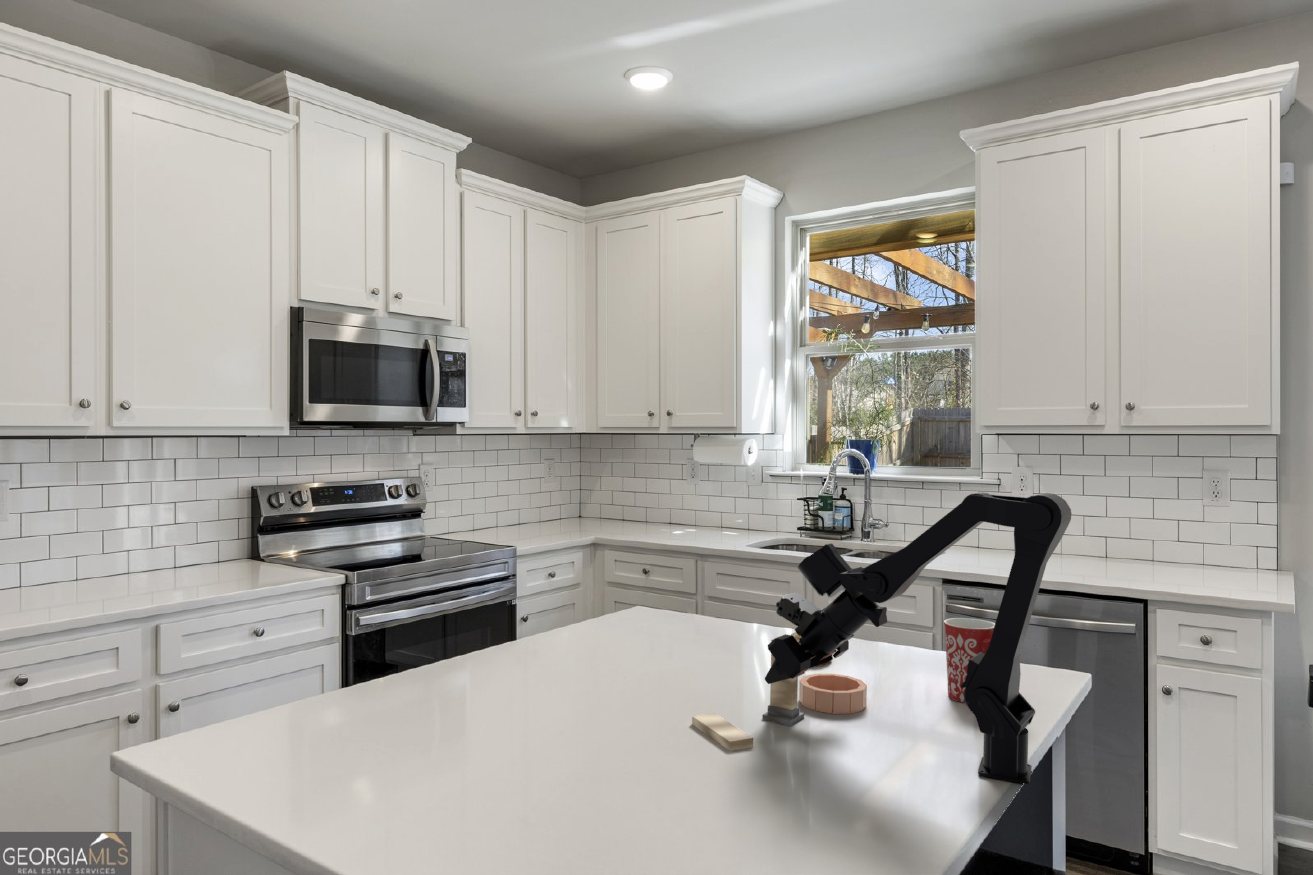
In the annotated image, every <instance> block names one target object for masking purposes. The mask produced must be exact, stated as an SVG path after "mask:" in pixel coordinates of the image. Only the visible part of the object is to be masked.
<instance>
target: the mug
mask: <svg viewBox="0 0 1313 875" xmlns="http://www.w3.org/2000/svg"><path fill="white" fill-rule="evenodd" d="M995 623H996V622H993V621H990V620H989V621H988V620H986V619H985V620H983V619H977V618H970V617H969V618H968V617H965V618H964V617H953V618H951V617H950V618H947V619H945V620H943V624H944V631H945V634H944V635H945V637H944V638H945V654H946V656H945V658H946V673H947V674H946V675H947V676H946V678H947V695H948V697H949V698H950V699H952V700H954V701H956V702H959V703H965V700H964V691H965V689H966V688H961V685H962V684H963V682H964V681H965V679H966V676H967V667H968V662H969V660H970V659H972V658H973V657H975V656H976V655H977V654H979V653H980V652H982V653H984V654H985V653H986V652H987V650H988V647H989V644H990V640H991V637H992V633H993V630H994V626H995ZM965 704H966V703H965Z"/></svg>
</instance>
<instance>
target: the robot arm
mask: <svg viewBox="0 0 1313 875" xmlns="http://www.w3.org/2000/svg"><path fill="white" fill-rule="evenodd" d="M1071 520H1072V508H1070V505H1069V503H1068V502H1067V501H1066V500H1065V499H1064V498H1063V497H1061V496H1060V495H1058V494H1055V493H1052V492H1051V493H1049V492H1045V493H1041V494H1040V493H1039V494H1036V495H1030V496H1028V497H1024V496H1023V497H1021V496H1011V495H1010V496H1009V495H997V494H989V493H988V492H983V491H982V492H976V493H970V494H969V495H966V496H965V497H964V499H963V500H962V502H960V503H959V504H958V505H957V506H955V507H953V509H952V510H950V511H949V512H948V513H947V514H945V515H944V516H943V517H941V518H940V519H939V520H938V521H937V522H935V523H934V524H933V525H931V526H930V527H928V528H927V529H926V530H925V531H924V532H922V533H921V534H920V535H918V536H917V537H916V538H915V539H913V540H912V541H911V542H910V543H908V544H907V545H906V546H905V547H903V548H902V549H899V550H898V551H894V552H893V553H891V554H888V555H886V556H885V557H883V558H880V559H879V560H877V561H875V562H873V563H871V564H869V565H867V566H866V567H862V566H859V567H856V568H852V567H851V566H850V565H849V563H847V561H846V560H845V559H844V557H843V556H841V554H840V553H839V551H838V549H837V547H836V546H835V545H834V544H833V543H832V542H831V543H826V544H824V545H823V546H822V547H821V548H819V549H818V550H816V551H815V552H813V553H811V554H810V555H809V556H808V555H807V556H806V557H805V558H804V559H803V560H802V561H801V562H800V563H799V564H798V566H797V570H798V571H799V572H800V573H801V574H802V575H803V577H804V578H805V579H806V580H807V582H808V583H809V584H810V586H811V587H812V588H813V589H814V591H815V592H816V594H818V595H819V597H824V596H825V595H826V596H827V597H828V599H830V598H833V597H835V596H836V595H837V594H838V593H839V595H838V596H837V597H836V598H835V599H833V600H832V601H831V602H830V603H829V604H828V605H827V606H826V607H824V608H823V609H820V608H819V607H818V606H817V605H816V604H814V603H813V602H812V601H810V600H809V599H807V598H806V597H804V596H802V595H801V594H799V593H798V592H794V591H793V592H790V593H787V594H783V596H782V597H781V598H780V600H779V601H777V602H776V603H775V606H776V611H775V612H776V615H777V616H778V617H780V618H781V617H782V618H783V619H785V620H786V621H789V622H790V623H791V624H793V625H794V626H796V627H795V628H794V632H796V633H797V634H798V635H799V636H801V637H802V638H800V639H798V642H799V643H800V644H801V645H800V644H799V643H798V642H797V640H796V639H795V638H794V636H792V635H791V634H787V633H786V634H783V635H781V636H777V637H775V638H773V639H774V640H773V641H772V642H771V641H770V643H768V644H767V650H768V651H769V652H770V655H771V654H772V655H773V656H774V658H775V661H774V663H773V664H772V666H771V665H770V668H769V670H768V672H767V674H766V675H765V677H764V681H765V682H766V683H767V684H768V685H771V683H775V682H778V681H782V680H786V679H790V678H792V679H793V678H795V677H800V676H802V675H804V674H805V673H806V672H807V671H808V669H811V668H814V667H819V666H818V665H821V664H825V663H827V662H829V661H830V662H831V661H833V659H837V658H839V657H842V656H843V655H844V654H845V653H846V652H847V651H849V645H850V644H849V643H850V641H849V640H852V638H854V637H855V635H854V634H855V633H857V631H859V630H860V629H861V628H862V627H863V626H864V625H865V624H866V623H868V622H869V621H870V622H871V623H872V624H873V626H874V627H876V628H878V627H881V626H883V625H885V624H887V623H888V616H887V611H888V608H887V607H886V606H880V605H879V604H883V603H885V602H888V601H890V600H893V599H896V598H898V597H901V596H902V595H903V594H904V593H905V592H906V591H907V590H908V589H909V588H910V587H911V586H912V584H914V582H915V581H916V580H917V579H918V577H919V576H920V575H921V573H922V571H923V570H925V568H926V567H927V566H928V565H929V564H930V563H931V562H933V561H934V560H936V559H937V558H938V557H939V556H941V555H942V554H944V553H945V552H946V551H947V550H949V549H950V548H951V547H952V546H954V545H955V544H957V543H958V542H960V541H961V539H964V538H965V537H966V536H967V535H969V533H971V532H972V531H974V530H975V529H976V528H977V527H979V526H980V525H981V524H983V523H987V524H989V523H990V524H993V525H998V526H1002V527H1008V528H1014V529H1013V543H1014V555H1013V556H1014V557H1013V561H1012V564H1011V568H1010V572H1009V574H1008V578H1007V582H1006V585H1005V590H1004V592H1003V596H1002V599H1001V602H1000V605H999V609H998V612H997V613H998V614H997V616H996V620H995V622H994V623H995V626H994V630H993V633H992V637H991V640H990V644H989V647H988V650H987V652H986V653H985V654H984V653H982V652H980V653H979V654H977V655H976V656H975V657H973V658H972V659H970V660H969V662H968V667H967V676H966V679H965V681H964V682H963V684H962V685H961V688H966V689H965V691H964V700H965V704H966V706H967V708H968V710H969V711H970V712H971V713H972V714H973V715H974V717H975V719H976V722H977V726H978V728H979V731H980V733H982V734H983V747H982V748H983V751H982V752H983V753H982V754H983V756H981V760H980V763H979V766H978V769H977V774H978V775H979V776H981V777H988V778H993V779H997V780H1003V781H1008V782H1013V783H1019V784H1023V785H1024V784H1025V785H1029V784H1030V781H1031V774H1032V765H1031V764H1029V763H1028V761H1029V758H1028V757H1029V756H1028V755H1029V754H1028V753H1029V729H1028V728H1027V727H1028V726H1029V725H1030V724H1031V723H1032V720H1033V719H1034V716H1035V715H1036V709H1034V707H1033V706H1032V705H1031V704H1030V703H1029V702H1028V701H1027V699H1026V698H1025V697H1024V696H1023V694H1021V693H1020V686H1021V685H1020V682H1021V675H1022V673H1021V657H1020V656H1021V652H1022V648H1023V645H1024V642H1025V639H1026V635H1027V631H1028V628H1029V625H1030V622H1031V617H1032V614H1033V612H1034V607H1035V604H1036V601H1037V597H1038V594H1039V592H1040V587H1041V584H1042V580H1043V577H1044V573H1045V570H1046V566H1047V563H1048V561H1049V559H1050V558H1051V557H1052V555H1053V553H1054V551H1055V550H1056V548H1057V547H1058V545H1059V543H1060V542H1061V540H1062V538H1063V536H1064V534H1065V533H1066V531H1067V528H1068V527H1069V525H1070V523H1071ZM843 589H844V590H843ZM841 591H842V592H841ZM830 662H829V663H830ZM825 665H826V664H825ZM821 666H822V665H821Z"/></svg>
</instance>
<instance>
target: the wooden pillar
mask: <svg viewBox="0 0 1313 875" xmlns="http://www.w3.org/2000/svg"><path fill="white" fill-rule="evenodd" d="M774 639H775V638H772V639H771V640H770V643H771V642H772V641H773V640H774ZM797 642H798V641H797ZM774 661H775V658H774V656H773V655H772V654H771V653H770V667H771V666H772V664H773V663H774ZM798 677H799V676H798ZM798 677H795V678H793V679H792V678H790V679H786V680H782V681H778V682H775V683H771V684H770V686H769V688H770V693H769V705H767V711H766V712H764V713H763V714H762V715H761V716H762V718H761V719H762V720H763V721H766V722H767V721H768V722H771V723H775V724H780V725H784V726H787V727H791V726H793V725H795V724H796V723H798V722H800V721H801V720H804V719H805V712H801V711H800V706H798V692H799V690H798V689H799V688H798V683H799V681H798V680H799V678H798Z"/></svg>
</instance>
